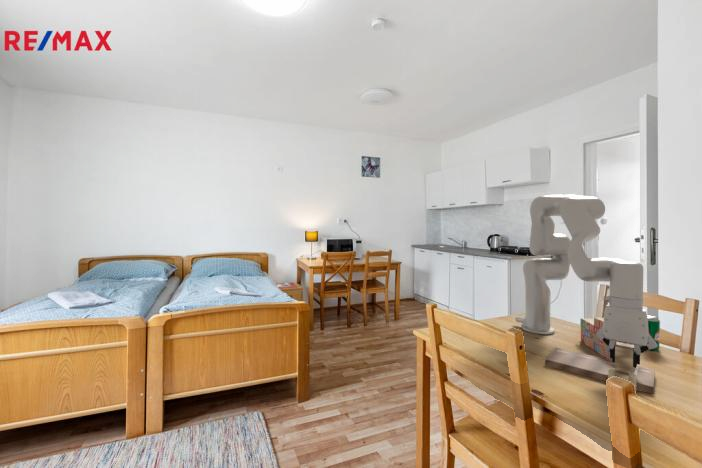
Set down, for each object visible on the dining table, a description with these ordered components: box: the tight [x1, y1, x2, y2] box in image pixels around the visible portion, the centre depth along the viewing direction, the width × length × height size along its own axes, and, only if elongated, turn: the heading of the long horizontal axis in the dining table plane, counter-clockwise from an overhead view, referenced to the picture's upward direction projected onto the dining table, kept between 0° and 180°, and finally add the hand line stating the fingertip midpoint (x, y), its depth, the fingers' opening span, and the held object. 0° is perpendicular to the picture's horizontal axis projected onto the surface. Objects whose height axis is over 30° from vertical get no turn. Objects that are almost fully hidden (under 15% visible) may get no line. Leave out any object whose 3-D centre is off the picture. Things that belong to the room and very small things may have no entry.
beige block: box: [608, 342, 637, 391], centre depth 95 cm, size 6×15×10 cm, turn 135°
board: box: [545, 347, 656, 395], centre depth 102 cm, size 26×14×2 cm, turn 45°
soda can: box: [641, 314, 661, 352], centre depth 118 cm, size 5×5×12 cm
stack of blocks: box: [579, 317, 635, 360], centre depth 116 cm, size 21×6×12 cm, turn 170°
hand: (624, 362), depth 95 cm, fingers closed on beige block, 4 cm apart
